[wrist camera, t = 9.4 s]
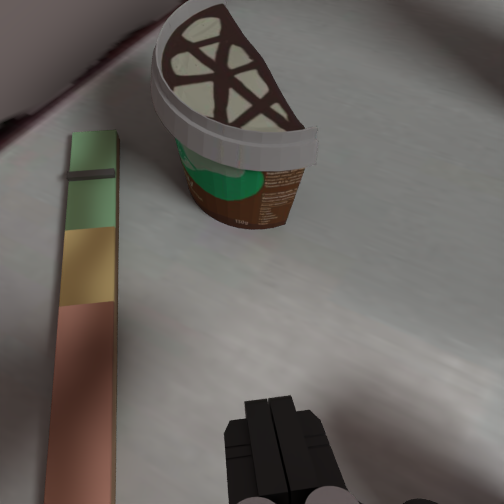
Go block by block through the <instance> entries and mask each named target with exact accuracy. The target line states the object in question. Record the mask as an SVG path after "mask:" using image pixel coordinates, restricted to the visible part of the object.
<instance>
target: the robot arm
mask: <svg viewBox="0 0 504 504" xmlns="http://www.w3.org/2000/svg"><path fill="white" fill-rule="evenodd" d="M244 403H245V415H246V419H238V420H231V421H229V424H228V426H227V428H226V430H225V432H224V440H225V454H226V468H227V482H228V496H229V504H362V503H360V502H359V501H357V499H356V498H355V497H354V496H353V495H352V494H351V493H350V492H349V491H348V490H347V488H346V485H345V483H344V480H343V478H342V475H341V472H340V470H339V467H338V465H337V462H336V459H335V457H334V454H333V452H332V449H331V446H330V444H329V441H328V439H327V436H326V434H325V431H324V428H323V426H322V423H321V420H320V419H319V418H318V417H317V416H316V415H315V414H313V413H312V412H311V411H310V410H304V411H297V412H296V409H295V406H294V403H293V400H292V397H291V395H289V396H281V397H274V398H268V401H267V399H259V400H252V401H244ZM403 504H438V503H436V502H433V501H430V500H426V499H412V500H409V501H406V502H405V503H403Z"/></svg>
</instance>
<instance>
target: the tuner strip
mask: <svg viewBox="0 0 504 504" xmlns="http://www.w3.org/2000/svg"><path fill="white" fill-rule="evenodd" d="M119 166H120V139H119V136H118V134H117V131H116V130H104V131H89V132H75V133H73V134H72V147H71V160H70V172H67V179H68V181H69V185H68V198H67V211H66V224H65V237H64V250H63V263H62V275H61V288H60V301H59V314H58V327H57V340H56V353H55V365H54V378H53V391H52V404H51V417H50V430H49V443H48V456H47V468H46V481H45V494H44V504H115V493H116V412H117V330H118V248H119Z"/></svg>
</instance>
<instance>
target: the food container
mask: <svg viewBox="0 0 504 504" xmlns="http://www.w3.org/2000/svg"><path fill="white" fill-rule="evenodd" d="M150 87H151V96H152V101H153V104H154V107H155V110H156V113H157V115H158V116H159V118H160V120H161V121H162V123H163V125H164V126H165V127H166V128H167V129H168V130H169V132H170V133H171V134H172V135H173V136H174V137H175V140H176V143H177V147H178V151H179V154H180V158H181V161H182V165H183V169H184V172H185V176H186V180H187V183H188V187H189V190H190V193H191V195H192V197H193V198H194V200H195V202H196V203H197V204H198V205H199V207H200V208H201V209H202V210H203V211H204V212H206V213H207V214H208V215H209V216H211V217H212V218H214V219H216V220H217V221H219V222H222V223H224V224H227V225H229V226H233V227H237V228H242V229H251V230H252V229H268V228H274V227H278V226H281V225H284V224H286V221H287V218H288V215H289V212H290V209H291V207H292V204H293V201H294V198H295V195H296V192H297V190H298V187H299V184H300V181H301V178H302V175H303V173H304V170H305V167H308V166H312V165H316V159H317V150H318V140H317V138H316V136H317V131H318V126H315V127H311V128H307V129H305V128H304V126H303V125H302V124H301V123H300V122H299V120H298V119H297V118H296V116H295V115H294V113H293V111H292V110H291V108H290V107H289V105H288V103H287V102H286V100H285V98H284V97H283V95H282V93H281V91H280V89H279V88H278V86H277V84H276V82H275V80H274V78H273V76H272V74H271V72H270V70H269V69H268V67H267V65H266V63H265V61H264V60H263V58H262V57H261V55H260V54H259V53H258V52H257V50H256V49H255V48H254V47H253V46H252V44H251V43H250V42H249V41H248V40H247V38H246V37H245V36H244V35H243V33H242V31H241V30H240V28H239V27H238V25H237V24H236V22H235V21H234V19H233V18H232V16H231V14H230V13H229V11H228V10H227V8H226V0H189V1H187V2H186V3H184V4H183V5H182V6H181V7H179V8H178V9H177V10H176V11H175V12H174V13H173V14H172V15H171V16H170V17H169V18H168V19H167V21H166V22H165V24H164V25H163V27H162V29H161V31H160V33H159V36H158V39H157V43H156V46H155V48H154V51H153V58H152V68H151V86H150Z"/></svg>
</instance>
